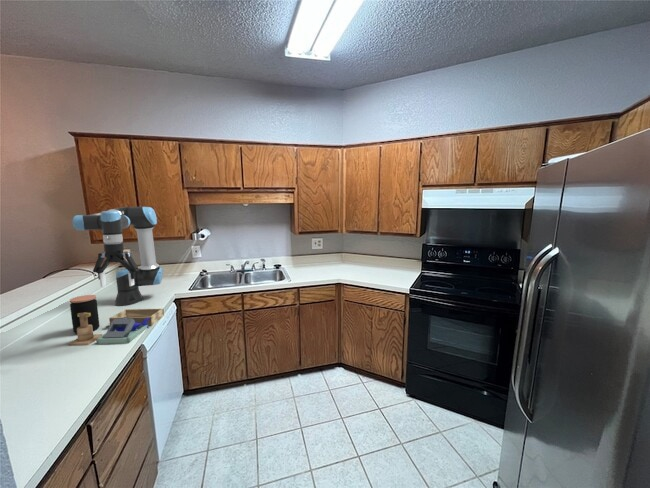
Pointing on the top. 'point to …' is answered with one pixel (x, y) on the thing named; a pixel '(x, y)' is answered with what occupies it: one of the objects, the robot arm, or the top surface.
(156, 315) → the crate
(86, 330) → the handle
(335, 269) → the top surface
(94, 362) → the top surface
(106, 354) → the top surface
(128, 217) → the robot arm
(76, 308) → the coffee jar
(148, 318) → the fish toy
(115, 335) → the gray rectangular frame
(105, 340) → the tray
